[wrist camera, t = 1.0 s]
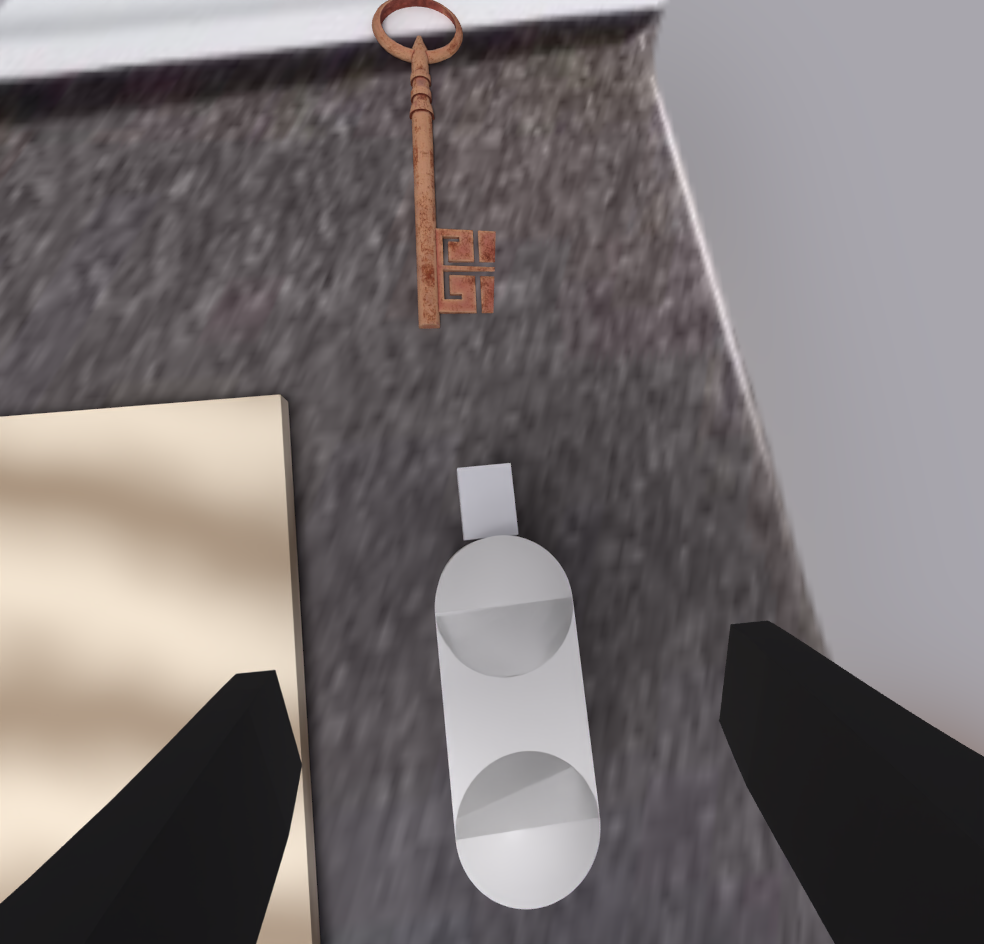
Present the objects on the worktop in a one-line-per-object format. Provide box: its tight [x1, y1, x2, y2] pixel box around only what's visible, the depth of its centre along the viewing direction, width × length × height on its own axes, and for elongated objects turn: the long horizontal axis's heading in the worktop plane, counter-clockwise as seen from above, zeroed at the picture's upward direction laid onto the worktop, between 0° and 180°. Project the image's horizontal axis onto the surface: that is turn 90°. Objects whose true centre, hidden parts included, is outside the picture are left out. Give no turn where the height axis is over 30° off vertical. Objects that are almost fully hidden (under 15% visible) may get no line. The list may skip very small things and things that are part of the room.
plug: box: [435, 463, 601, 909], centre depth 18 cm, size 12×4×5 cm, turn 6°
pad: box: [0, 395, 320, 944], centre depth 19 cm, size 22×14×1 cm, turn 6°
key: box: [372, 0, 496, 328], centre depth 23 cm, size 6×1×15 cm
